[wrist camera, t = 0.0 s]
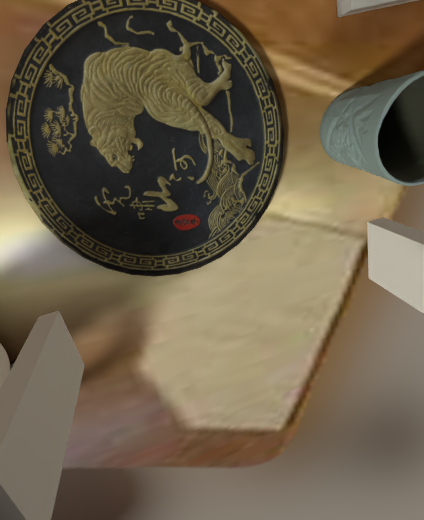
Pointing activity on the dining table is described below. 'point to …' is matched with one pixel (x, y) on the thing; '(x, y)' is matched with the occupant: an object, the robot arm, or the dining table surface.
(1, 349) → the coffee press
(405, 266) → the robot arm
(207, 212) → the decorative plate
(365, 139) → the teal cup
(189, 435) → the dining table surface
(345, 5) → the tray
